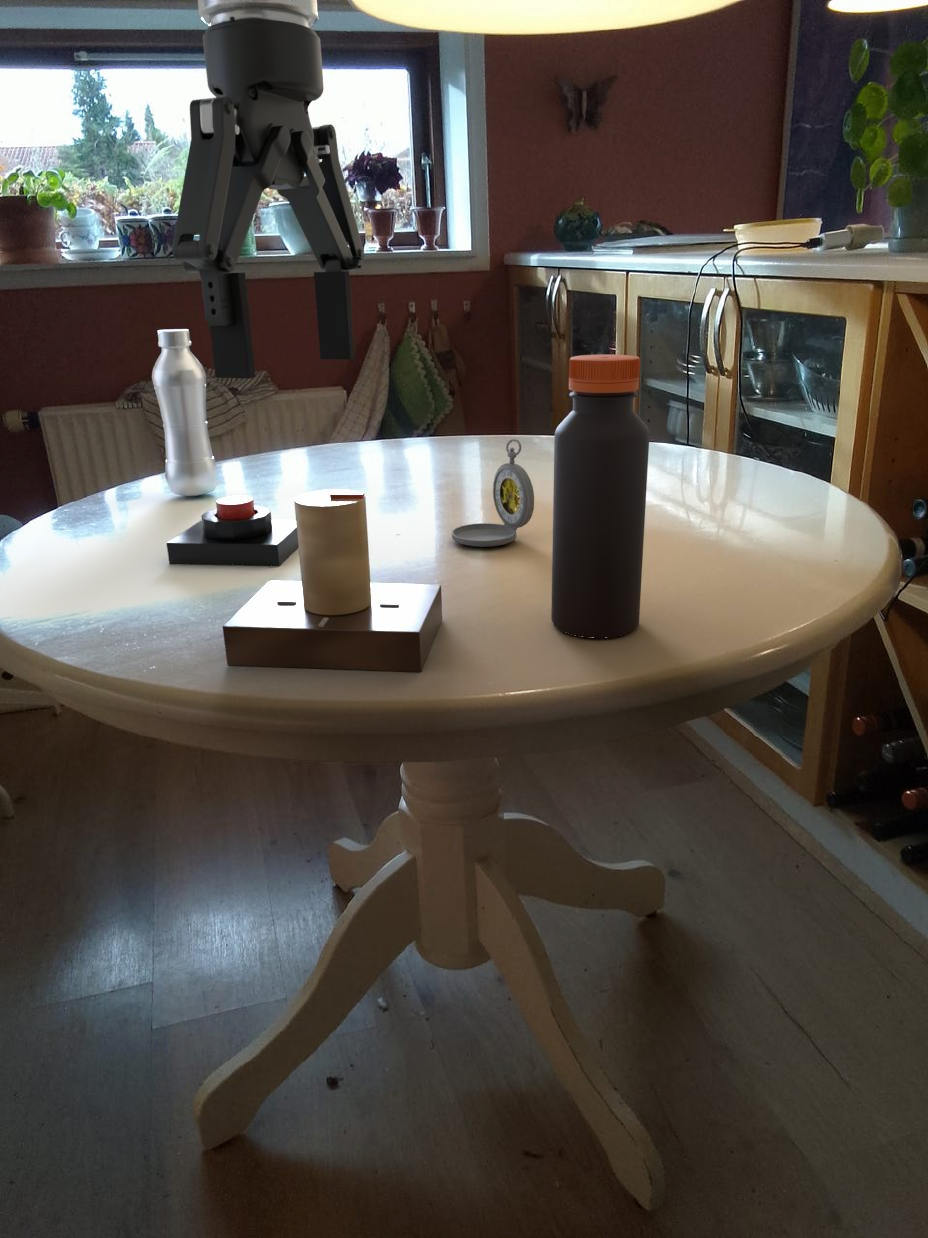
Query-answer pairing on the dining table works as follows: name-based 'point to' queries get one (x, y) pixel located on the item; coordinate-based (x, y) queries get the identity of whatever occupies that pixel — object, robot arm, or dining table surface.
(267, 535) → the button box
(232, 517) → the red button
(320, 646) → the knob panel
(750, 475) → the dining table surface
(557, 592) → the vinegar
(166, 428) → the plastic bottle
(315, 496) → the wood knob
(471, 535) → the pocket watch
